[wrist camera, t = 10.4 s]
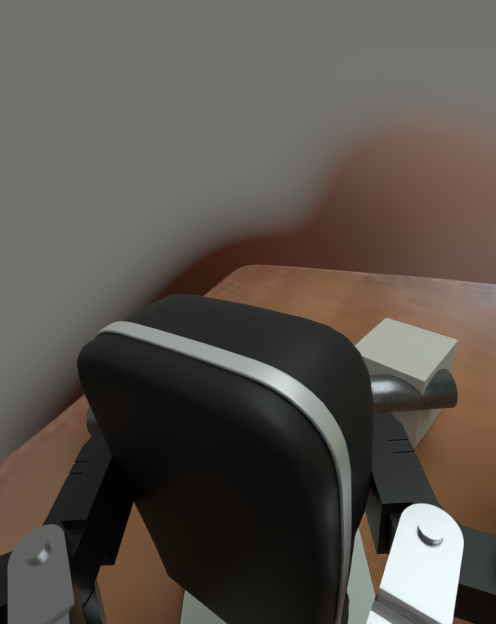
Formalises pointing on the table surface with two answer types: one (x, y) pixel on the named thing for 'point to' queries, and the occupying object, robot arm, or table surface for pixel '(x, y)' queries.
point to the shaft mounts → (408, 364)
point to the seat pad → (201, 620)
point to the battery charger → (239, 451)
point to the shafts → (387, 395)
